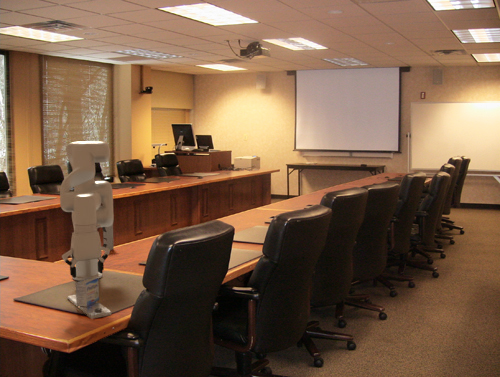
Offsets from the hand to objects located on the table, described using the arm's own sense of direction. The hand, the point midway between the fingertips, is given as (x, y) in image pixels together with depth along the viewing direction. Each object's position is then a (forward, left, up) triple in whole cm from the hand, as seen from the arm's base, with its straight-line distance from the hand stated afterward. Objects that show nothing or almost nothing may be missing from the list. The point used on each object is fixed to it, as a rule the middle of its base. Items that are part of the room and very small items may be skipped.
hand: (87, 274), depth 188 cm
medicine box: (0, 0, -11) cm, 11 cm away
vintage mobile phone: (-89, +41, -12) cm, 99 cm away
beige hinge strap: (+1, 0, -12) cm, 12 cm away
